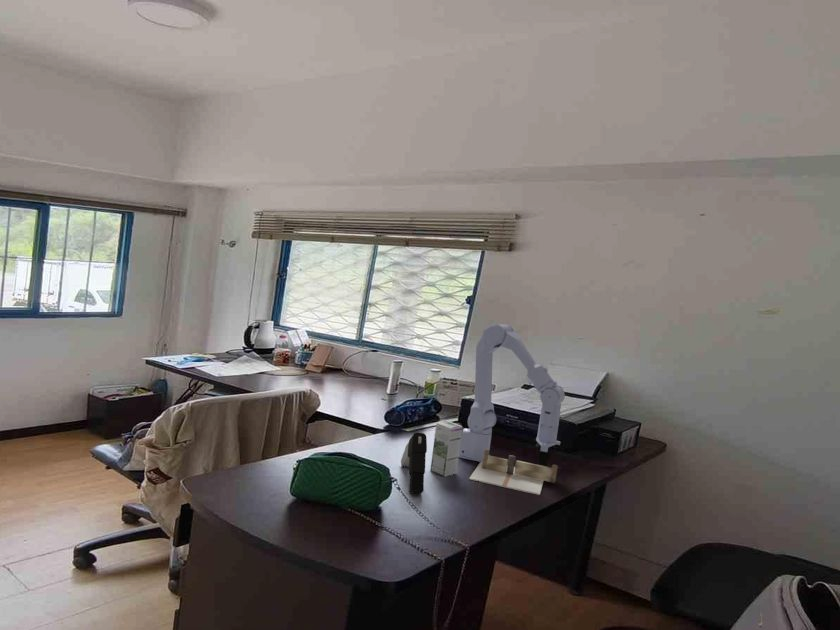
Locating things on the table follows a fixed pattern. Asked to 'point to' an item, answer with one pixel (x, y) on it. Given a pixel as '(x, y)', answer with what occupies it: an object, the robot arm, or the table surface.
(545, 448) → the robot arm
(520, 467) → the beige long t-shaped piece
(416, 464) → the handheld device
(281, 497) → the table surface
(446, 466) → the syrup box
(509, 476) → the mat
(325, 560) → the table surface
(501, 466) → the fixed fence section
